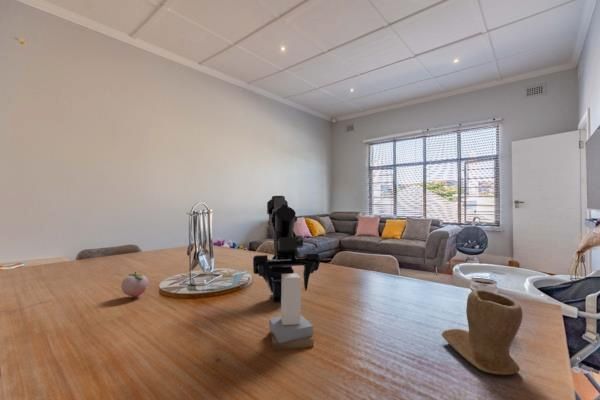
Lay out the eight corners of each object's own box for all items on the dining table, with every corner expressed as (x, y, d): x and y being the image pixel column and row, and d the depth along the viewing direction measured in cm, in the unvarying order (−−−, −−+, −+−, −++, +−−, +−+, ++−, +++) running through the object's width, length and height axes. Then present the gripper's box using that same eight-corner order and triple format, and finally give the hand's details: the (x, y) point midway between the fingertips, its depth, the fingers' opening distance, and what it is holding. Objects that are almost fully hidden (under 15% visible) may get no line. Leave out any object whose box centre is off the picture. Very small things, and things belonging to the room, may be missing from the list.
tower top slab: (269, 327, 75) (269, 318, 75) (299, 321, 78) (299, 312, 78) (279, 342, 67) (279, 332, 67) (312, 335, 70) (312, 325, 70)
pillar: (281, 318, 75) (281, 273, 75) (297, 317, 75) (298, 273, 76) (282, 325, 70) (283, 277, 71) (300, 324, 71) (301, 277, 71)
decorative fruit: (115, 300, 103) (115, 273, 104) (136, 293, 111) (135, 268, 111) (133, 303, 100) (132, 275, 100) (152, 296, 108) (152, 270, 108)
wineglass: (490, 329, 76) (489, 285, 76) (465, 320, 82) (464, 279, 82) (503, 323, 79) (502, 282, 79) (479, 315, 85) (478, 276, 85)
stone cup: (539, 379, 54) (537, 303, 54) (479, 380, 54) (478, 304, 54) (487, 341, 69) (485, 281, 70) (440, 341, 69) (439, 282, 70)
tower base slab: (270, 334, 76) (270, 325, 76) (306, 330, 78) (305, 321, 78) (273, 353, 67) (273, 343, 67) (313, 349, 68) (313, 339, 68)
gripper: (252, 226, 76) (252, 277, 65) (318, 224, 79) (329, 272, 68) (253, 250, 84) (253, 298, 73) (313, 247, 87) (322, 294, 76)
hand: (289, 290), depth 72 cm, fingers open, 9 cm apart
